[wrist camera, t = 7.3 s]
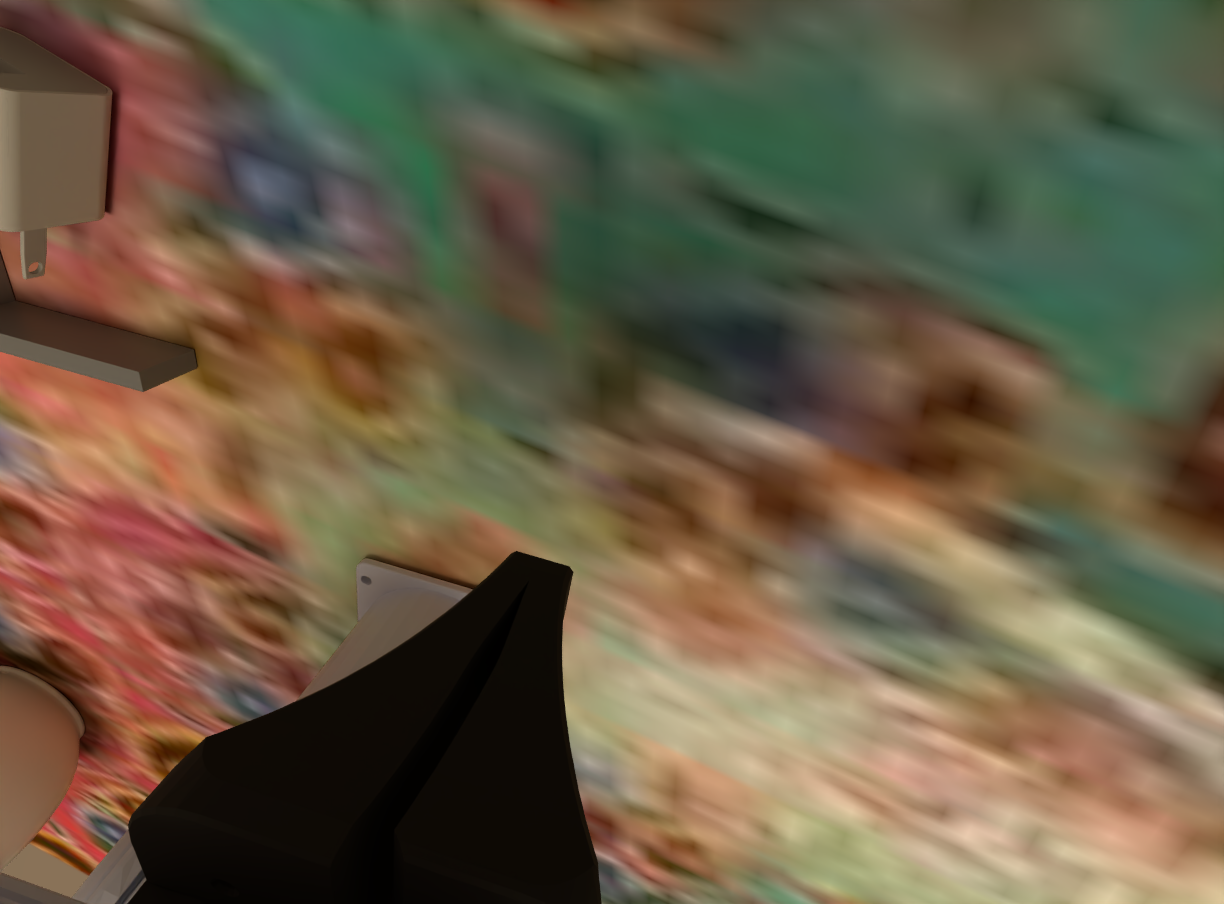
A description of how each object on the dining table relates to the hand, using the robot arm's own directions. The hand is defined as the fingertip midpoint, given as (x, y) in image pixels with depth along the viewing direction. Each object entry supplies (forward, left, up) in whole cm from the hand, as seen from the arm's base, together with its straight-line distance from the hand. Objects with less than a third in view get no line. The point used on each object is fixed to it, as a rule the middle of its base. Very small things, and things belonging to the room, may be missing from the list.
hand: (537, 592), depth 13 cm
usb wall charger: (+4, +21, -10) cm, 23 cm away
